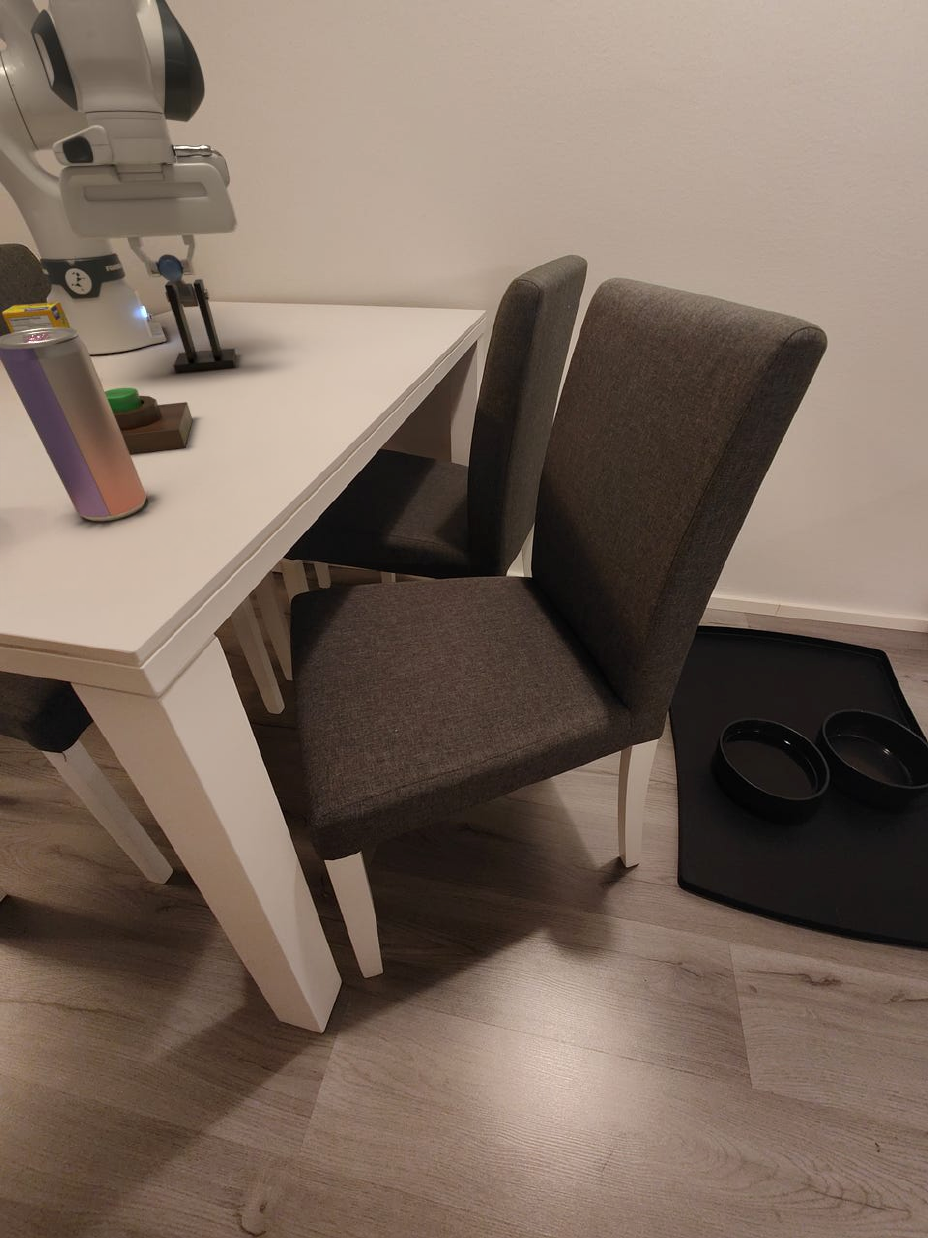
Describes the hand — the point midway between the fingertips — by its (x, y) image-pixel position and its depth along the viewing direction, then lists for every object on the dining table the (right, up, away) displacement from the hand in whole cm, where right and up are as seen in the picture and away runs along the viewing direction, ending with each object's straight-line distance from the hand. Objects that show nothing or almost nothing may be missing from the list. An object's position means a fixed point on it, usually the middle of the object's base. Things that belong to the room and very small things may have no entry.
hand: (172, 275), depth 79 cm
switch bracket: (-2, -5, +15) cm, 16 cm away
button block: (+1, -26, -11) cm, 28 cm away
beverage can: (+7, -37, -25) cm, 46 cm away
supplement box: (-19, -13, +6) cm, 24 cm away
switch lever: (-1, 0, +4) cm, 5 cm away
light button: (+1, -23, -13) cm, 27 cm away
